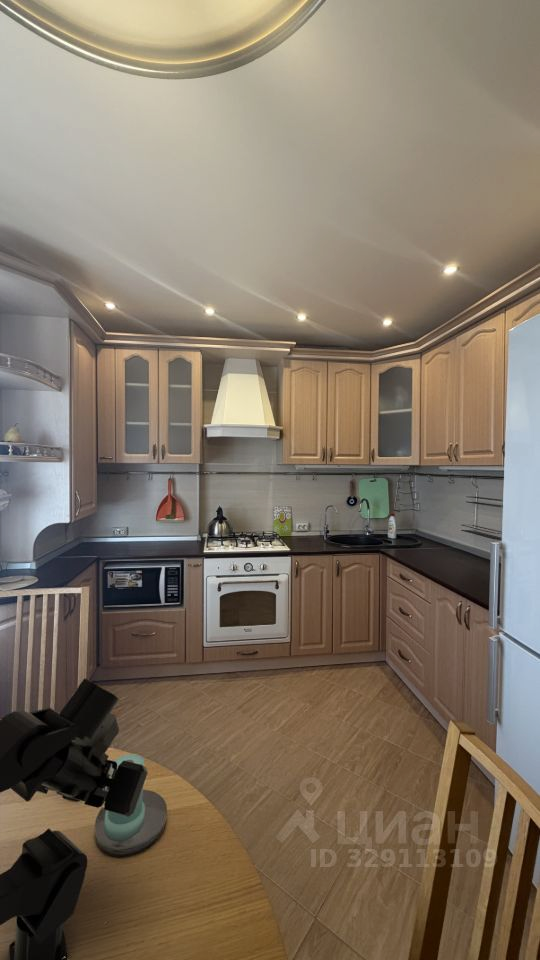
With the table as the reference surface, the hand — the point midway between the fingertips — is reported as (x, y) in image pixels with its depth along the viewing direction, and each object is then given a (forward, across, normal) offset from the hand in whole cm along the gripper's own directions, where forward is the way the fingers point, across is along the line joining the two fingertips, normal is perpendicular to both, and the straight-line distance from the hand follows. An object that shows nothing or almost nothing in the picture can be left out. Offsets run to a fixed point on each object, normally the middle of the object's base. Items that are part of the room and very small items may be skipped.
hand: (107, 789), depth 68 cm
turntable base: (+15, 0, +3) cm, 15 cm away
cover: (+12, 0, +3) cm, 12 cm away
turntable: (+14, 0, +2) cm, 14 cm away
